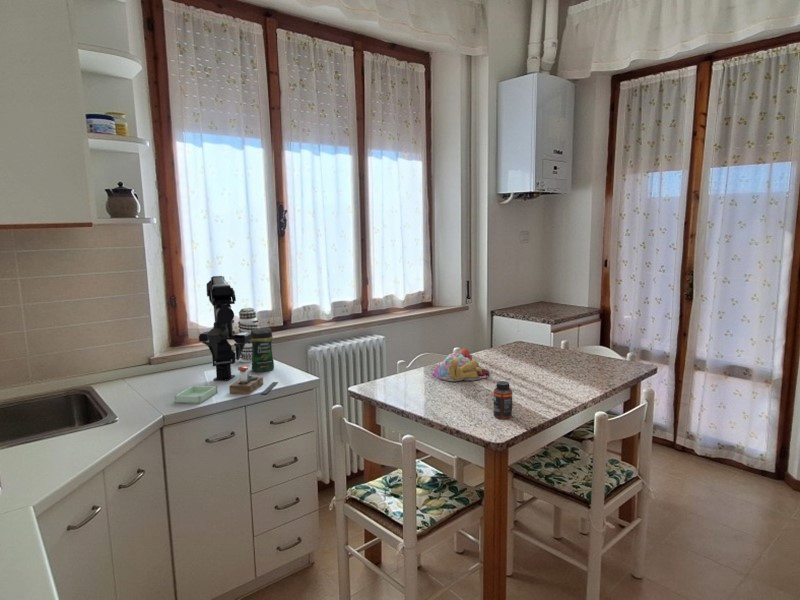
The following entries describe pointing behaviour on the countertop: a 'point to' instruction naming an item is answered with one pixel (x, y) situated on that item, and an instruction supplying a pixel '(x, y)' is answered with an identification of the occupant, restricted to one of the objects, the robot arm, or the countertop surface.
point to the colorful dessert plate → (460, 368)
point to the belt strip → (269, 388)
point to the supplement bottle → (502, 400)
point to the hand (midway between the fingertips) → (226, 359)
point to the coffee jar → (262, 350)
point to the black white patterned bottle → (247, 330)
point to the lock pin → (243, 374)
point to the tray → (196, 394)
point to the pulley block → (252, 385)
